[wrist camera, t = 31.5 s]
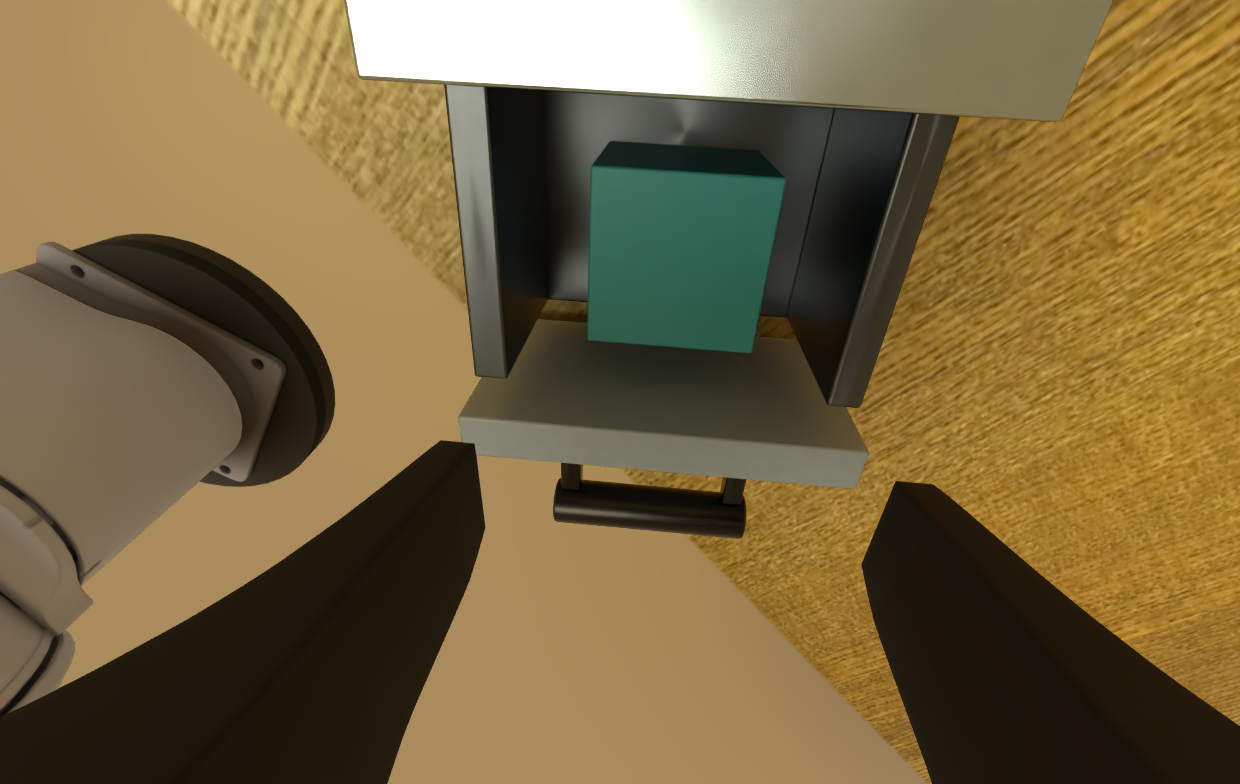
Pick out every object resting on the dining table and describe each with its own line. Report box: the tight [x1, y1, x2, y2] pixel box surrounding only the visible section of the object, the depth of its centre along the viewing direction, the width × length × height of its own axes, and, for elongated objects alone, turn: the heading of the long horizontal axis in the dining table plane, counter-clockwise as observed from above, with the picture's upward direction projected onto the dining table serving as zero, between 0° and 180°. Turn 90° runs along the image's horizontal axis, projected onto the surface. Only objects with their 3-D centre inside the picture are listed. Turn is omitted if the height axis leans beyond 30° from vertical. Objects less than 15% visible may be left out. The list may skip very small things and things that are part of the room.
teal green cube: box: [587, 141, 787, 353], centre depth 14 cm, size 4×4×4 cm
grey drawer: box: [444, 85, 960, 539], centre depth 14 cm, size 16×10×6 cm, turn 177°
